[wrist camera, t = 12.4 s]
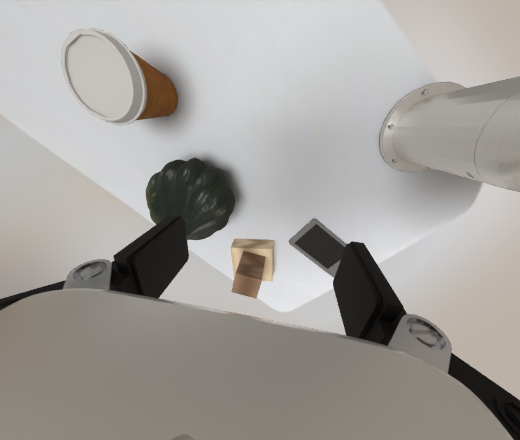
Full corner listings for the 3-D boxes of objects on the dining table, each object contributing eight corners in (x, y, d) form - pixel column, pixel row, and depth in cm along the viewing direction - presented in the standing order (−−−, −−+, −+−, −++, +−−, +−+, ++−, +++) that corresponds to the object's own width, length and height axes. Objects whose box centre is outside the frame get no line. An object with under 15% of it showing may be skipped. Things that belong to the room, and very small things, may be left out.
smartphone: (287, 240, 42) (287, 242, 42) (313, 216, 39) (314, 218, 38) (333, 276, 45) (333, 278, 44) (361, 256, 42) (362, 258, 41)
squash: (149, 133, 30) (105, 218, 24) (240, 150, 30) (216, 239, 24) (179, 181, 43) (155, 243, 38) (242, 193, 43) (227, 257, 38)
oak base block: (273, 239, 43) (271, 249, 39) (273, 269, 47) (272, 281, 43) (235, 237, 44) (230, 247, 40) (238, 267, 48) (234, 278, 44)
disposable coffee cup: (184, 62, 30) (126, 25, 19) (188, 128, 34) (144, 128, 23) (128, 58, 30) (42, 19, 20) (139, 123, 34) (74, 121, 24)
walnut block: (265, 256, 40) (261, 280, 34) (260, 273, 42) (256, 298, 36) (243, 250, 40) (235, 273, 34) (239, 267, 42) (231, 291, 36)
